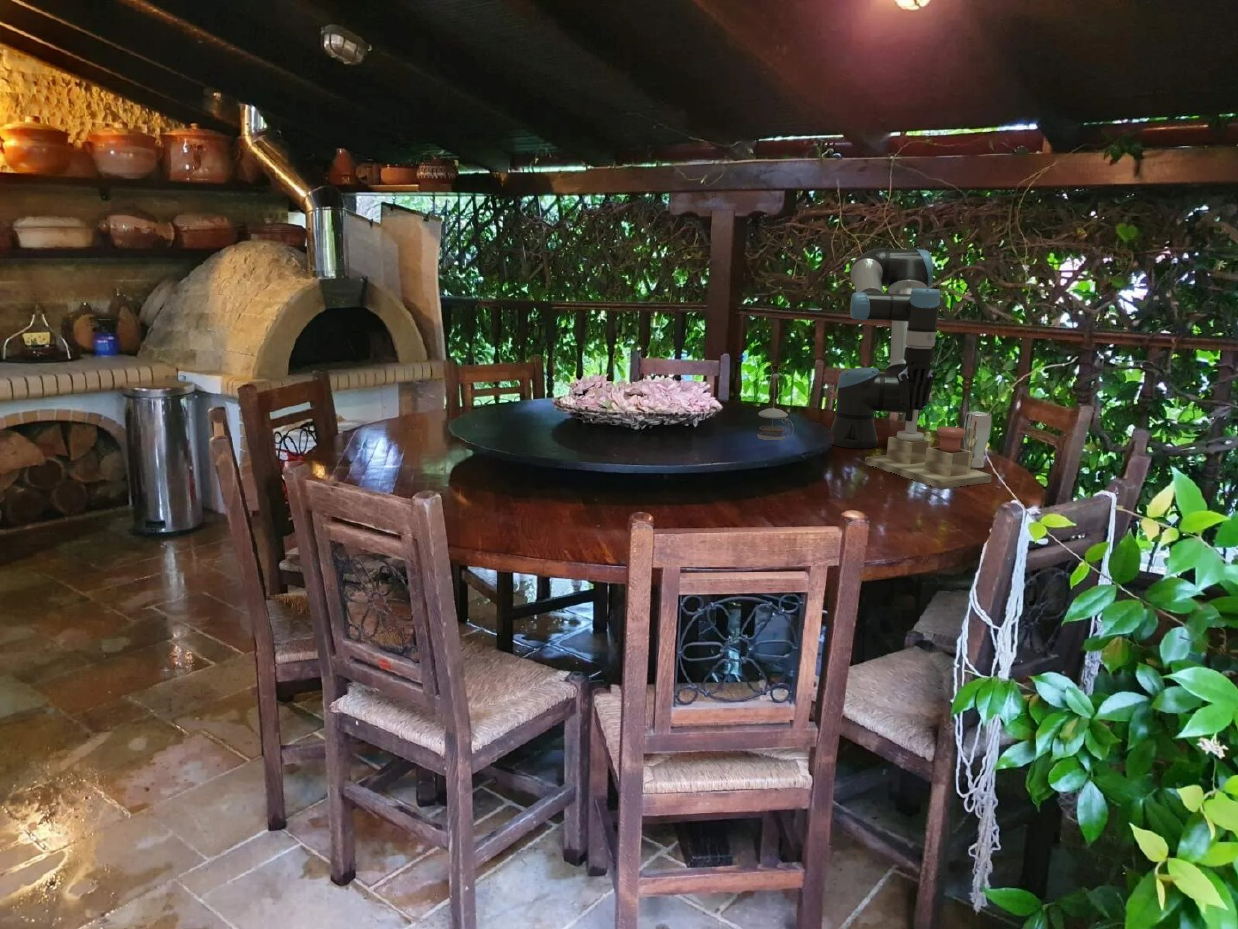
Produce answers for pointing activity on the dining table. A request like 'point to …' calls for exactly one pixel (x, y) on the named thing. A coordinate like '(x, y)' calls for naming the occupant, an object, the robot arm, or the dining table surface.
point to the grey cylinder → (910, 436)
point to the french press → (772, 414)
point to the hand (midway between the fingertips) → (910, 432)
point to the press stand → (928, 464)
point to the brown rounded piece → (950, 438)
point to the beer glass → (977, 436)
